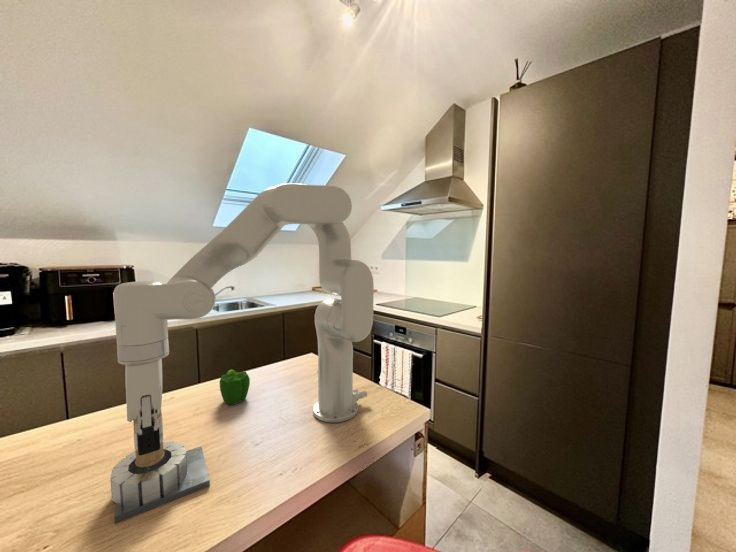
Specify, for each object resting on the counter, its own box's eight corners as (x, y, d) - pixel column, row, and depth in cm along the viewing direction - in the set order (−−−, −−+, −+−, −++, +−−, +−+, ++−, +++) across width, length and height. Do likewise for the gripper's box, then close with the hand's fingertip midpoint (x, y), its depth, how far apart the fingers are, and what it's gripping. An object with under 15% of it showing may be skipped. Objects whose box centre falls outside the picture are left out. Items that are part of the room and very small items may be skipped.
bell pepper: (238, 391, 96) (237, 360, 95) (255, 398, 92) (254, 366, 91) (212, 403, 89) (211, 369, 88) (230, 410, 85) (229, 376, 84)
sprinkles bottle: (143, 453, 59) (139, 386, 58) (169, 451, 60) (165, 385, 58) (129, 470, 54) (124, 398, 53) (157, 467, 55) (153, 396, 54)
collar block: (201, 451, 68) (200, 429, 67) (209, 485, 58) (208, 460, 57) (116, 479, 59) (114, 454, 59) (109, 525, 49) (107, 496, 49)
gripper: (121, 341, 60) (127, 429, 62) (112, 369, 46) (120, 481, 48) (167, 335, 64) (171, 417, 66) (170, 359, 50) (176, 462, 52)
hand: (149, 443), depth 57 cm, fingers closed on sprinkles bottle, 4 cm apart
